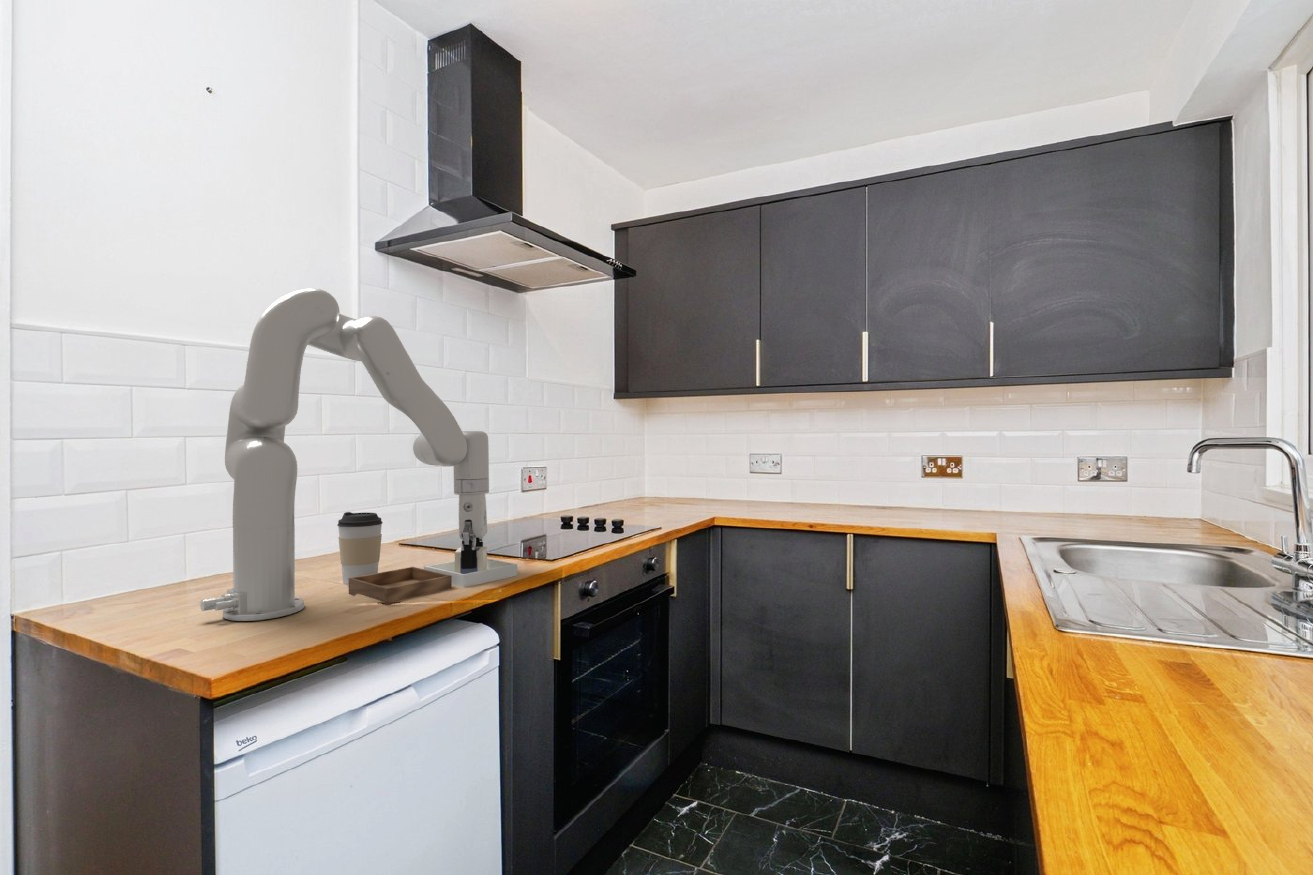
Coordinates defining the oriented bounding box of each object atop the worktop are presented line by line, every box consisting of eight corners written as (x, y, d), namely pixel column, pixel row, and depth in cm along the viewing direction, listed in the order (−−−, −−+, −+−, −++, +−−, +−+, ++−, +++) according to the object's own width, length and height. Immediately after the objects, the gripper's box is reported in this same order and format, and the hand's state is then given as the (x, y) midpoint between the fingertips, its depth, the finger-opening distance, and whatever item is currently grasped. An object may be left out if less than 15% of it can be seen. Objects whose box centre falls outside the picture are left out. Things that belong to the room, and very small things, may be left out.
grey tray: (463, 590, 133) (463, 575, 133) (424, 580, 141) (424, 566, 141) (517, 577, 144) (517, 564, 144) (477, 569, 152) (477, 556, 152)
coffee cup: (390, 576, 145) (390, 510, 144) (368, 586, 136) (368, 515, 135) (352, 575, 145) (352, 509, 145) (328, 585, 136) (328, 514, 136)
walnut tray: (386, 605, 121) (386, 588, 121) (348, 593, 129) (348, 578, 129) (451, 590, 132) (451, 575, 132) (412, 580, 141) (412, 566, 141)
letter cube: (483, 579, 140) (483, 551, 140) (454, 579, 139) (454, 551, 139) (486, 573, 146) (486, 546, 146) (459, 573, 145) (459, 546, 145)
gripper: (483, 490, 134) (484, 571, 135) (493, 483, 152) (494, 555, 152) (446, 490, 133) (447, 573, 134) (460, 483, 151) (461, 556, 151)
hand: (472, 563), depth 143 cm, fingers open, 9 cm apart
